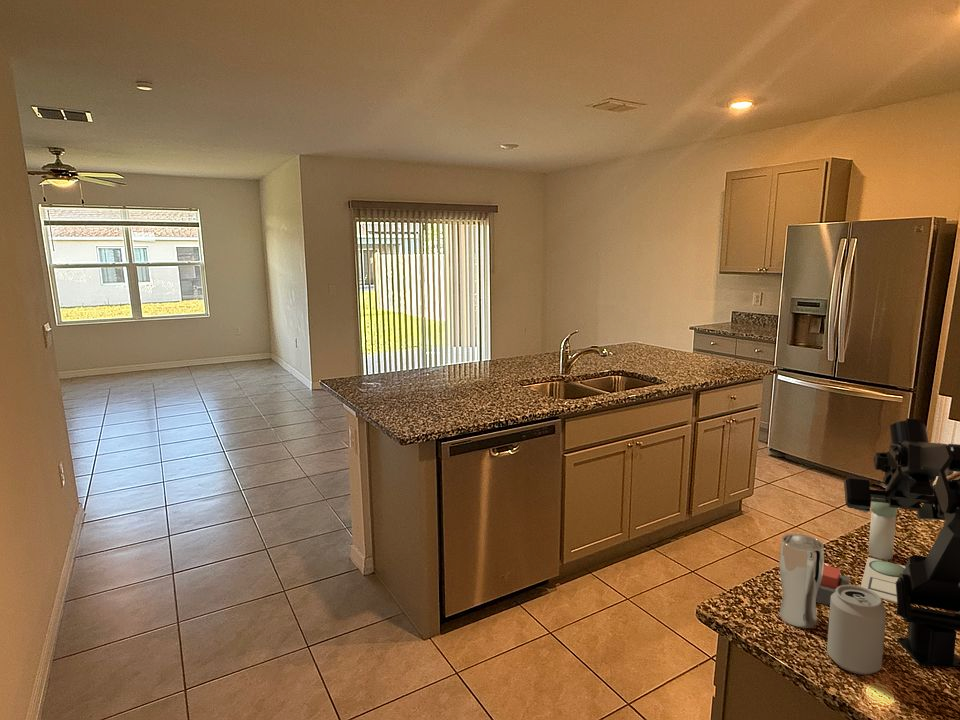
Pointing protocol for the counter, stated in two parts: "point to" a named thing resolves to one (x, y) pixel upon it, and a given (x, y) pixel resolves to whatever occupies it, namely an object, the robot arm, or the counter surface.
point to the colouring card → (882, 578)
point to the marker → (882, 531)
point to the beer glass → (800, 578)
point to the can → (856, 629)
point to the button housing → (830, 591)
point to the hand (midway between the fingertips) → (891, 513)
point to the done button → (830, 577)
